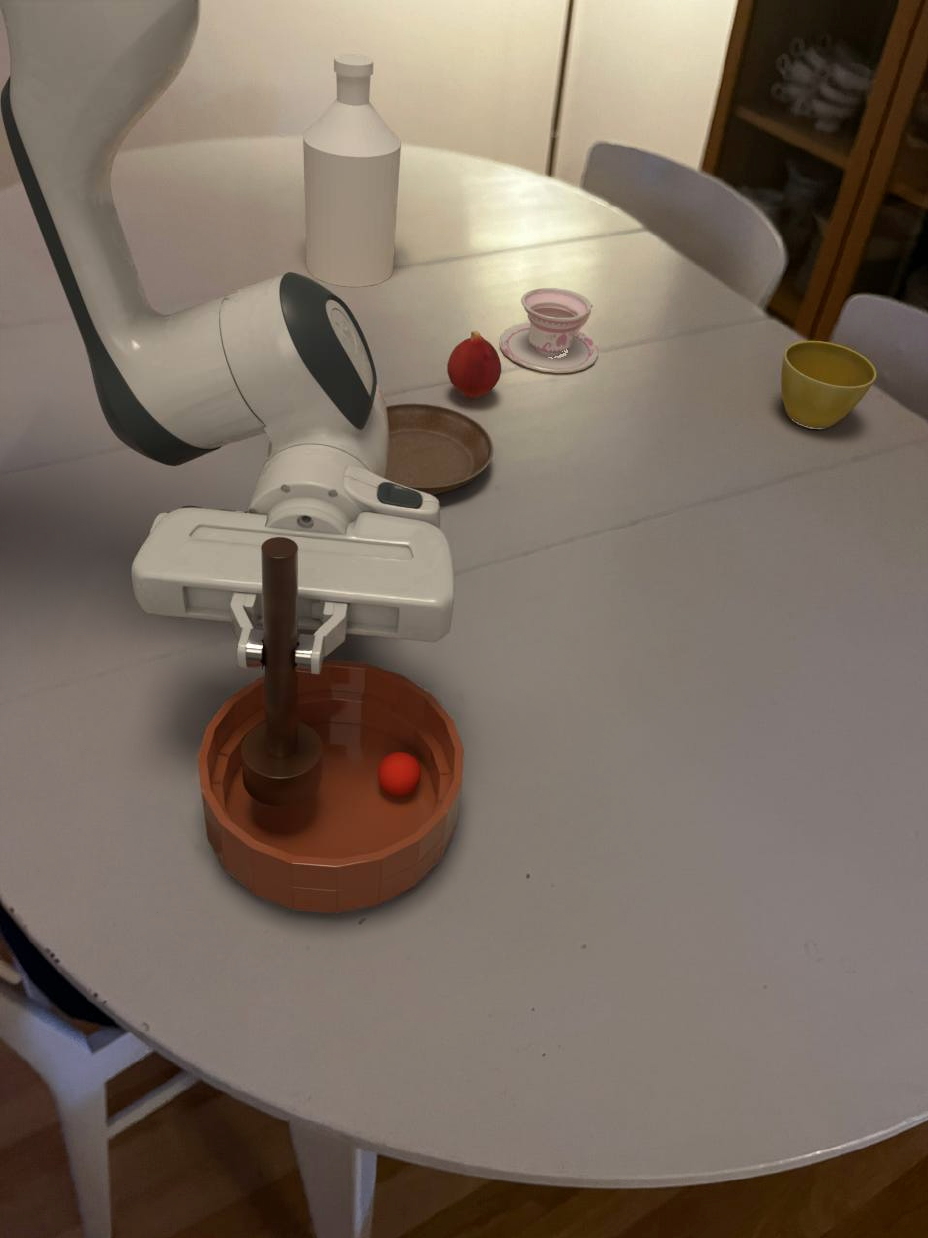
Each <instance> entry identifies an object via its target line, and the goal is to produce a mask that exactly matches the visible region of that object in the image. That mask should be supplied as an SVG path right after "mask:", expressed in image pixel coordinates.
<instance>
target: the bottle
mask: <svg viewBox="0 0 928 1238" xmlns="http://www.w3.org/2000/svg"><path fill="white" fill-rule="evenodd" d="M333 72H334V73H335V74H336V99H335V100H334V101H333V103H331V104H330V106H328V108H327V109H326V110H325V112H323V114H322V115H321V116H320V117H319V118H318V119H317V120H316V121H314V123H313V124H311V126H309V128H307V129H306V130H305V132H303V134H302V148H303V180H304V182H303V183H304V186H303V187H304V218H305V250H306V251H305V253H306V254H305V255H306V270H307V272H308V273H309V274H310V275H311V276H313V277H314V278H315V279H317V280H318V281H319V280H320V281H322V282H324V283H326V284H330V285H335V286H339V287H340V286H341V287H348V288H361V287H362V288H364V287H371V286H376V285H378V284H382V283H384V282H385V281H388V279H390V278H391V276H392V275H393V272H394V260H395V258H394V257H395V242H396V228H397V227H396V226H397V214H398V199H399V197H398V196H399V183H400V166H401V154H402V153H401V152H402V142H401V139H400V138H399V136H398V135H397V134H396V133H395V132H394V131H393V130H392V129H391V127H390V126H389V125H388V124H387V123H386V121H384V119H383V118H382V116H381V115H380V114H379V112H378V111H377V110H376V108H375V107H374V106H373V104H372V103H371V102H370V93H371V76H372V75H373V74H374V59H372V58H371V57H370V56H367V55H363V54H357V53H340V54H337V55H335V56H334V57H333Z"/></svg>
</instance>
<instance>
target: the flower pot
mask: <svg viewBox="0 0 928 1238" xmlns="http://www.w3.org/2000/svg"><path fill="white" fill-rule="evenodd" d="M780 377H781V380H780V381H781V385H780V386H781V395H782V400H783V401H782V402H783V405H784V409H785V412H786V415H787V414H788V415H787V417H788V416H789V417H790V418H791V419H793V420H794V421H795V422H798V423H799V424H802V425H804V426H808V427H813V428H827V427H829V428H830V427H832V426H834V425H835V424H837V423H838V422H840V421H841V420H842V419H844V417H846V416H847V415H848V414H849V413H850V412H851V411H853V409H854V408H856V406H857V405H858V404H859V403H860V402H861V401H862V399H863V398H864V397H865V395H866V394H867V393H868V391H869V390H870V389H871V387H872V385H874V382H875V381H876V379H877V370H876V367H875V366H874V365H873V363H872V362H871V361H870V360H869V359H868V358H866V357H865V356H864V355H862V354H861V353H859V352H858V351H855V350H853V349H851V348H849V347H847V346H844V345H840V344H837V343H833V342H828V341H823V340H803V341H798V342H795V343H791V344H790V345H789V346H787V347H786V349H785V350H784V353H783V359H782V365H781V375H780ZM789 417H788V418H789ZM827 429H828V428H827Z"/></svg>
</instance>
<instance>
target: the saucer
mask: <svg viewBox="0 0 928 1238" xmlns="http://www.w3.org/2000/svg"><path fill="white" fill-rule="evenodd" d="M386 409H387V414H388V424H389V450H388V460H387V466H386V473H385V476H384V479H387V480H389V481H392V482H394V483H397V484H400V485H402V486H405V487H408V488H411V489H415V490H418V491H421V492H424V493H427V494H430V495H432V496H434V495H438V494H443V493H448V492H450V491H454V490H456V489H458V488H460V487H463V486H464V485H467V484H468V483H470V482H471V481H473V480H474V479H476V478H477V477H478V475H480V474H481V473H482V472H483V471H484V470H485V469H486V468H487V467H488V466H489V464H490V462H491V461H492V458H493V454H494V446H493V441H492V438H491V436H490V435H489V433H488V431H486V429H485V428H484V427H483V426H482V425H481V424H480V423H479V422H478V421H476V420H474V419H473V418H472V417H470V416H468V415H466V414H463V413H462V412H459V411H457V410H454V409H451V408H448V407H443V406H439V405H434V404H427V403H426V404H425V403H397V404H391V405H386Z"/></svg>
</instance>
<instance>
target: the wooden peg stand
mask: <svg viewBox="0 0 928 1238" xmlns="http://www.w3.org/2000/svg"><path fill="white" fill-rule="evenodd" d="M261 563H262V600H263V625H262V630H263V637H264V668H263V673H264V675H265V711H266V723H263V724H261V725H259V726H257V727H255V728H254V729H253V730H251V731H250V732H249V733H248V734H247V736H246V737H245V739H244V741H243V743H242V748H241V755H242V775H243V784H244V787H245V789H246V791H247V792H248V793H249V795H250V796H251V797H253V798H254V799H255V800H257V801H258V802H261V803H263V804H266V805H270V806H276V807H285V806H292V805H296V804H299V803H301V802H303V801H305V800H307V799H308V798H310V797H311V796H312V795H313V794H314V793H315V792H316V791H317V789H318V788H319V786H320V784H321V780H322V752H323V746H322V741H321V739H320V737H319V735H318V734H317V733H316V732H315V731H314V730H313V729H312V728H311V727H309V726H308V725H306V724H304V723H301V722H298V672H295V666H296V663H295V653H296V647H297V646H298V639H299V629H298V546H297V544H296V543H295V542H294V541H293V540H291V539H289V538H285V537H274V538H270V539H268V540H266V541H265V542H264V543H263V544H262V546H261Z"/></svg>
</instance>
